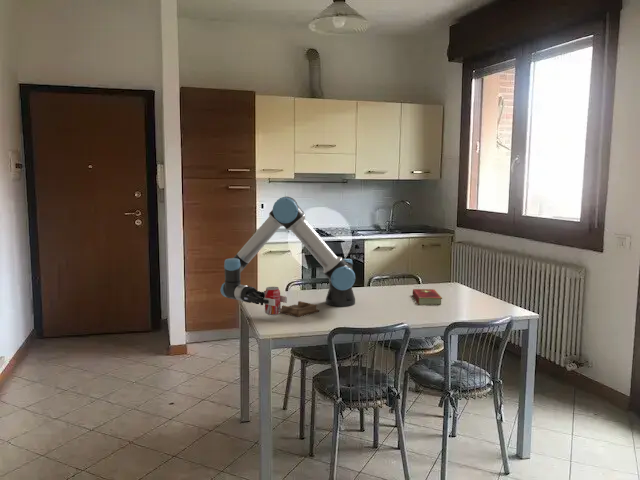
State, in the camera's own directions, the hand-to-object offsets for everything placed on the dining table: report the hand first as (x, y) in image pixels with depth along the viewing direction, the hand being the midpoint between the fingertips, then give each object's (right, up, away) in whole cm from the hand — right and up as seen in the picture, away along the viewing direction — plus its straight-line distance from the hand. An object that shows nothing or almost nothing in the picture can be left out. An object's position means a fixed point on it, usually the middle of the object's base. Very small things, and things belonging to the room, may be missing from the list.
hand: (280, 301), depth 234 cm
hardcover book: (+74, -5, +45) cm, 87 cm away
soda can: (-4, -6, +4) cm, 9 cm away
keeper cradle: (+7, -7, +18) cm, 21 cm away
